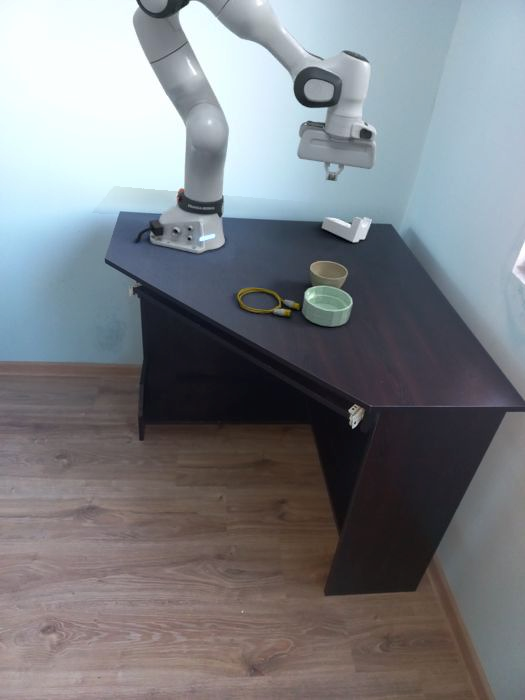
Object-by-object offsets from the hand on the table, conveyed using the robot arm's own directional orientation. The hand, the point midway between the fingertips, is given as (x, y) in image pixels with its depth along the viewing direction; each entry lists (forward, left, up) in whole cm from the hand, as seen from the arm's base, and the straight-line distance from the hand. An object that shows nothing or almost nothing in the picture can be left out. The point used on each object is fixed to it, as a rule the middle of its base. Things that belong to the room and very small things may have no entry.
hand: (331, 179), depth 142 cm
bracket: (+10, +25, -26) cm, 38 cm away
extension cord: (-13, -26, -26) cm, 39 cm away
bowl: (+2, -27, -26) cm, 37 cm away
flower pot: (+2, -15, -26) cm, 30 cm away
